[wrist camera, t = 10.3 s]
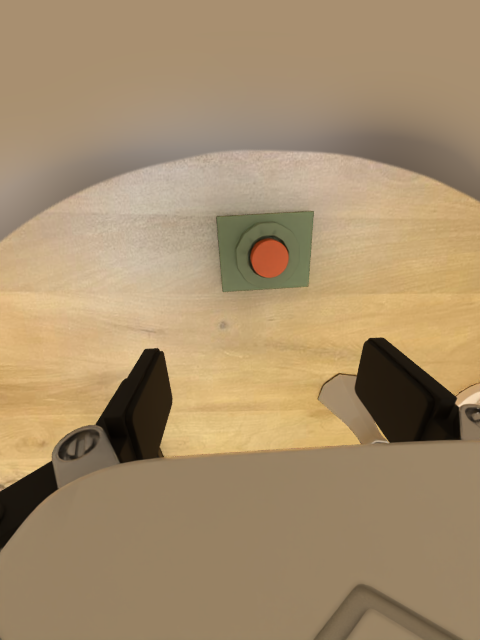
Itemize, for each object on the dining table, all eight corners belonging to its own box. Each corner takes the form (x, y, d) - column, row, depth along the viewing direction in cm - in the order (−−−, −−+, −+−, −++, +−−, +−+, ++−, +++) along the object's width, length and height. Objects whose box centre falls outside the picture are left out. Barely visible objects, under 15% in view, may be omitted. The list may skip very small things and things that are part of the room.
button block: (223, 286, 29) (222, 297, 26) (217, 216, 26) (215, 217, 22) (303, 281, 30) (313, 291, 26) (307, 211, 26) (320, 211, 23)
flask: (309, 400, 38) (335, 459, 29) (337, 366, 36) (375, 420, 26) (344, 414, 40) (379, 474, 31) (373, 383, 37) (420, 439, 28)
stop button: (250, 274, 25) (252, 279, 24) (249, 239, 24) (251, 241, 22) (284, 272, 25) (288, 276, 24) (285, 237, 24) (289, 239, 22)
